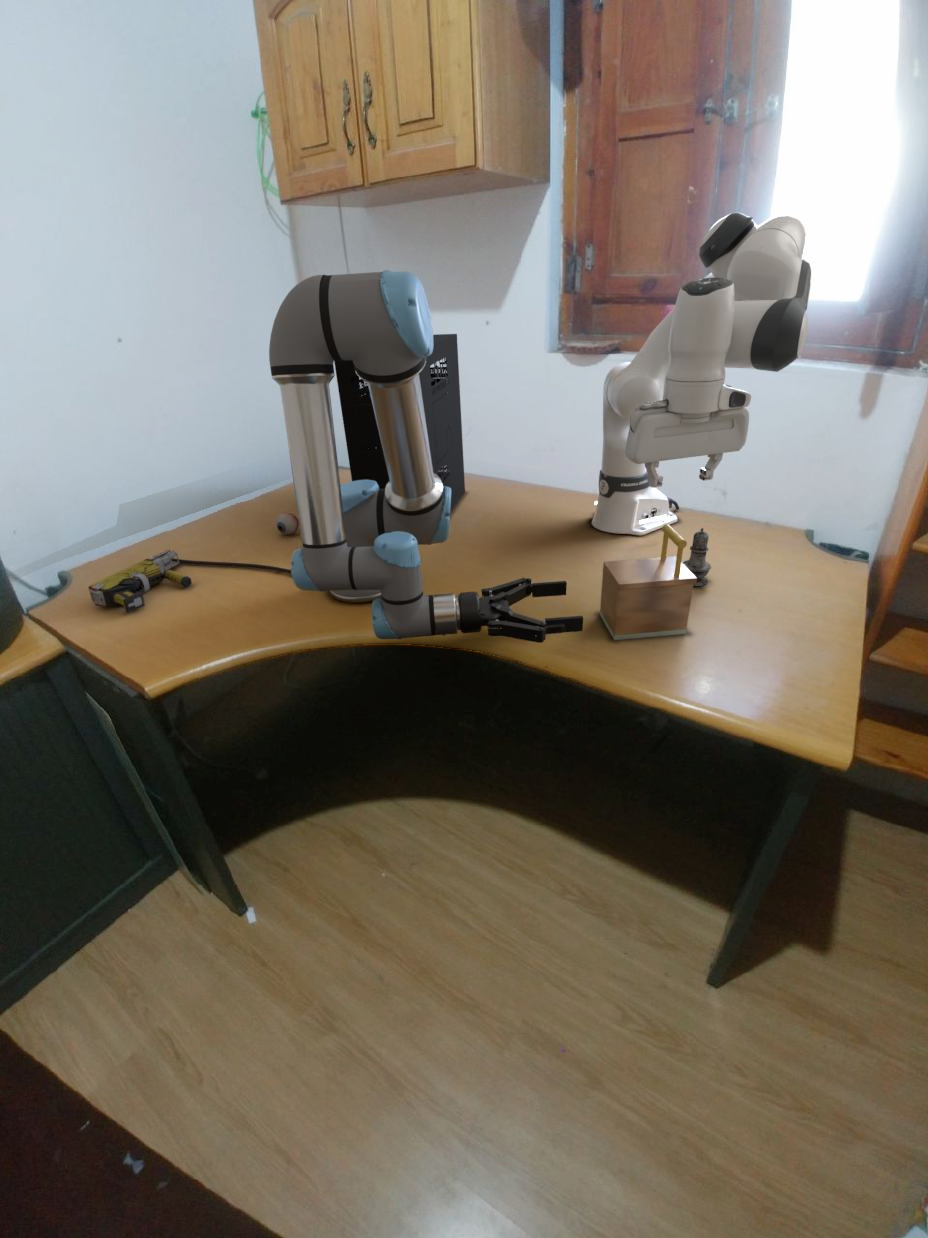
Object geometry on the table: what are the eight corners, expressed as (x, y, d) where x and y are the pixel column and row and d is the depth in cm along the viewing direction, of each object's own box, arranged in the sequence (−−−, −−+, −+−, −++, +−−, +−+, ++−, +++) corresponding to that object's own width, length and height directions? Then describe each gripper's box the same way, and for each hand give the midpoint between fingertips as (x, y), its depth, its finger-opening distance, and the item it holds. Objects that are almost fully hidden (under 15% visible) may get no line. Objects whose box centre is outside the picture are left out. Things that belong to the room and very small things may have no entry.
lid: (675, 560, 115) (680, 520, 110) (696, 583, 106) (703, 540, 102) (603, 566, 114) (605, 526, 110) (618, 589, 106) (622, 547, 101)
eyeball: (273, 537, 164) (268, 516, 161) (287, 528, 169) (282, 508, 166) (291, 539, 161) (286, 518, 158) (305, 530, 166) (301, 510, 163)
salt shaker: (710, 587, 126) (720, 533, 120) (681, 586, 127) (688, 532, 121) (706, 574, 131) (715, 522, 125) (678, 573, 132) (685, 522, 126)
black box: (432, 538, 157) (416, 350, 135) (359, 535, 162) (333, 353, 139) (465, 491, 189) (456, 333, 166) (403, 490, 193) (387, 336, 171)
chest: (666, 608, 120) (672, 561, 115) (685, 633, 111) (693, 583, 106) (599, 614, 119) (602, 566, 114) (614, 640, 111) (618, 590, 106)
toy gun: (215, 558, 145) (165, 547, 149) (137, 600, 125) (81, 586, 129) (218, 575, 148) (168, 564, 152) (142, 619, 128) (87, 605, 131)
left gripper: (456, 599, 122) (559, 591, 123) (463, 669, 101) (589, 659, 101) (453, 565, 119) (560, 558, 119) (461, 631, 97) (591, 621, 98)
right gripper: (641, 407, 90) (633, 496, 97) (761, 393, 94) (744, 480, 101) (622, 400, 96) (615, 485, 103) (735, 387, 99) (722, 470, 106)
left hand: (574, 604), depth 110 cm, fingers open, 13 cm apart
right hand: (680, 482), depth 102 cm, fingers open, 8 cm apart
